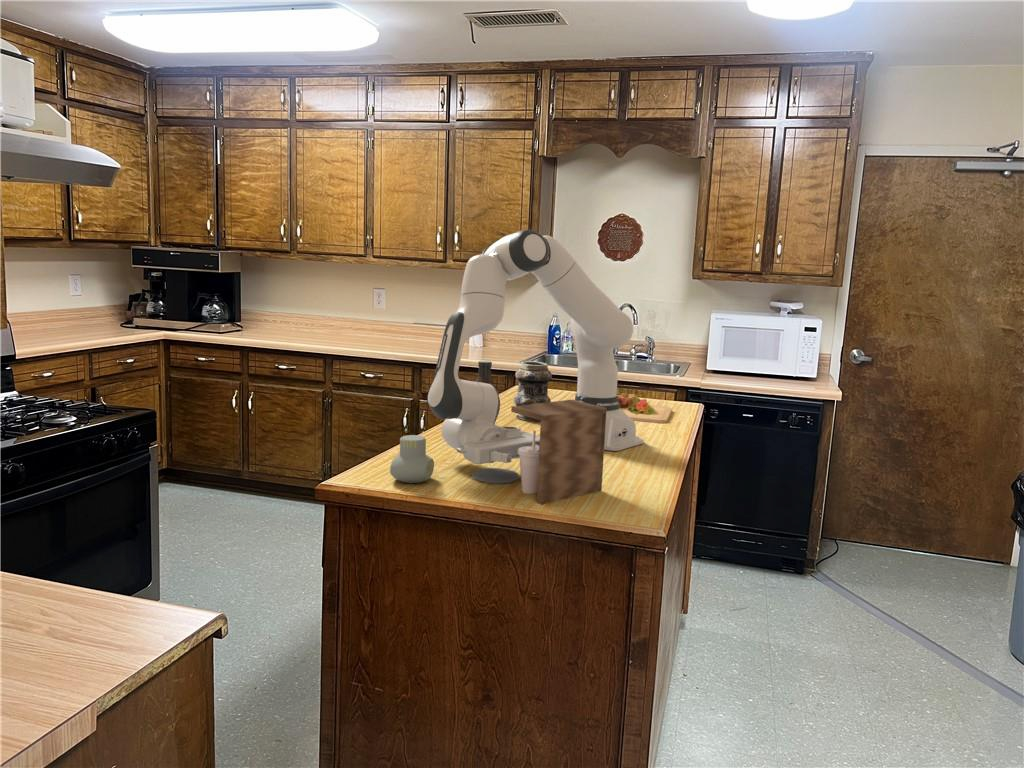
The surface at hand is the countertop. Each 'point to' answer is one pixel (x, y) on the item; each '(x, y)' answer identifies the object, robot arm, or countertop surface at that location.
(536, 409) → the shelf
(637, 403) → the cutting board
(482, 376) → the sauce bottle
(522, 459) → the smoothie
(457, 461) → the countertop surface
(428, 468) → the air freshener
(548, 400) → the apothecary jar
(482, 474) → the coaster
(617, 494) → the countertop surface
